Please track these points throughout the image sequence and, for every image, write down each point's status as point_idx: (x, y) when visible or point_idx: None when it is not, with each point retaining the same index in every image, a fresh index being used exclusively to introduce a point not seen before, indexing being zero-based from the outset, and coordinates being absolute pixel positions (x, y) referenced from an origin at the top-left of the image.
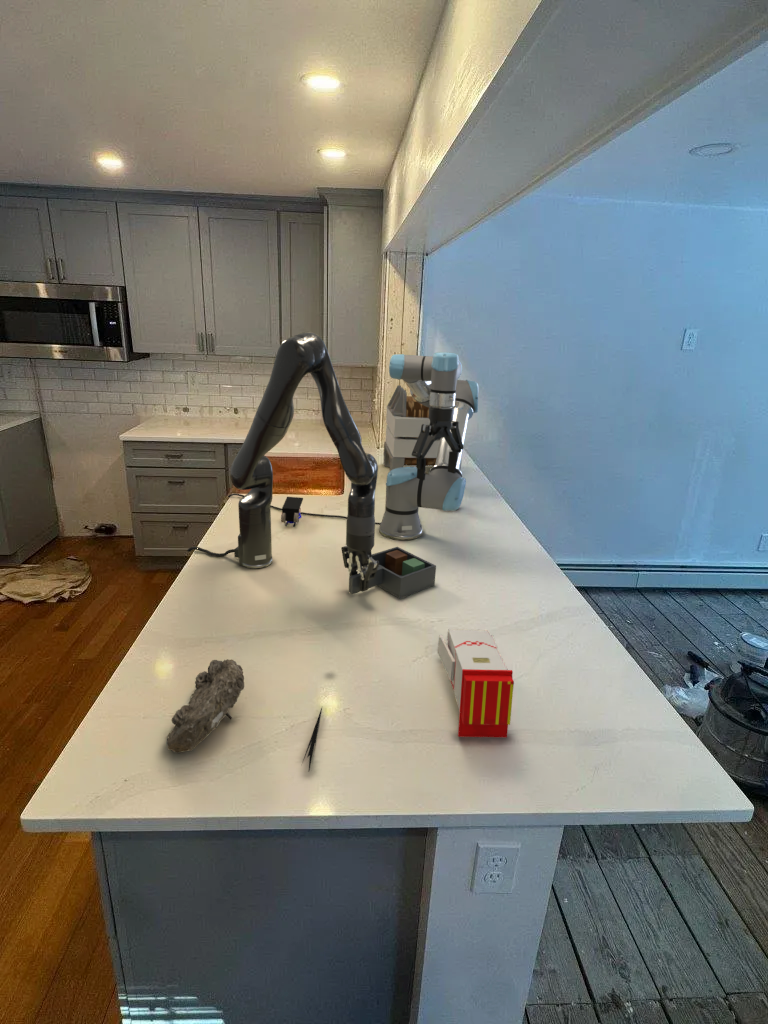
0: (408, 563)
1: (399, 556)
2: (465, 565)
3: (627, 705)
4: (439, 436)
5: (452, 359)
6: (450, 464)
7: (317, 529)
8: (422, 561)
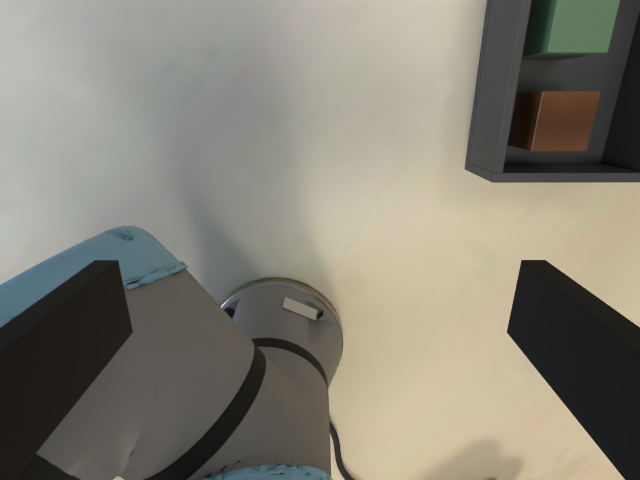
0: (606, 24)
1: (575, 98)
2: (282, 25)
3: None
4: None
5: None
6: (83, 355)
7: (448, 453)
8: (526, 22)
